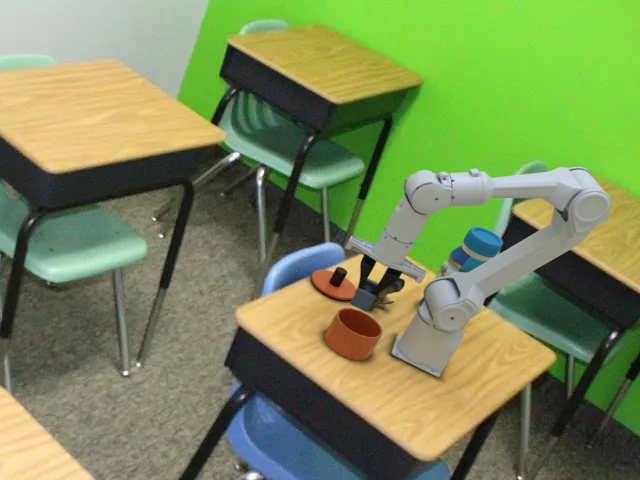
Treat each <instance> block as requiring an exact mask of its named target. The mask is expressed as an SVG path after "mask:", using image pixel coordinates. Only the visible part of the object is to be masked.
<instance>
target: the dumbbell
mask: <svg viewBox="0 0 640 480" xmlns="http://www.w3.org/2000/svg"><path fill="white" fill-rule="evenodd" d="M378 283H379V282H376V281H375V280H373V279H370V278H369V277H368V278H367V280H366V282H365V284H364V286H363V288H362V289H361V288H358V287H356V292H355V295H354V296H353V298H352V299H350V302H349V305H350V306H353V307H355V308H357V309H358V310H360V311H362V312H364V313H368V311H369V310H370V309H369V308H370V306H371V304H372V303H373V301H374V299H375V297H376V296H375V295H373V294H372V292H373V290H374V289H375V288H376V286H377V285H378ZM368 309H369V310H368Z"/></svg>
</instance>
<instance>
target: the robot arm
mask: <svg viewBox="0 0 640 480" xmlns="http://www.w3.org/2000/svg"><path fill="white" fill-rule="evenodd" d="M402 186H403V187H402V188H403V195H401V196H402V197H401V198H400V200H399V201H398V203H397V205H396V207H395V208H394V210H393V212H392V214H391V216H390V218H389V219H388V221H387V223H386V224H385V226H384V228H383V230H382V232H381V234H380V235H379V236H378V239H377V241H376V242H375V243H374V242H371V241H368V240H364V239H361V238H358V237H356V236H353V235H351V236H350V237H349V239H348V241H347V242H346V245H345V246H344V249H346V250H348V251H354V252H356V253H358V254H360V255H362V258H361V260H360V264H359V265H360V266H359V268H360V270H359V271H360V272H359V280H358V284H357V288H361V289H362V288H363V286H364V284H365V282H366V280H367V278H368V279H369V277H370V275H371V273H372V271H373V270H374V267H375V266H376V264H377V263H379V264H380V265H381V266H384V267H387V268H386V270H385V272H384V273H383V275H382V277H381V278H380V280H379V281H378V282H377V283H378V285H377V286H376V288H375V289H374V290H373V292H372V294H373V295H375V296H377V295H378V294H379V293H380V292H382V291H383V290H384V289H385V288H387V287H388V286H390V285H391V284H393V283H395V282H396V281H398V280H399V278H401V276H402V275H404V276H406V277H408V278H410V279H413V280H414V282H415V283H416V284H419V285H422V283H423V281H424V280H425V277H426V276H427V273H428V271H427V270H425V269H424V268H422V267H420V266H418V265H417V264H415V263H414V262H413V261H411V260H409V259H408V258H407V257H408V256H409V253H410V252H411V250H412V248H413V246H414V245H415V243H416V242H417V240H418V238H419V236H420V235H421V233H422V232H423V229H424V227H425V226H426V224H428V221H429V219H430V218H431V215H434V214H437V213H438V212H440V211H441V210H443V209H446V208H451V207H452V208H453V207H473V206H484V205H485V204H487V203H488V202H489V201H490V200H492V199H542V200H543V201H545V202H547V203H549V204H550V205H551V206H552V207H554V208H553V213H552V217H551V222H550V223H549V224H548V225H546V226H544V227H542V228H541V229H539V230H537V231H536V232H533V233H532V234H530V235H529V236H527V237H526V238H524V239H522V240H521V241H519V242H517V243H515V244H514V245H512V246H511V247H509V248H507V249H506V250H504V251H502V252H501V253H499V254H497V255H496V256H495V257H494V258H491V259H490V260H489V261H487V262H485V263H484V264H482V265H480V266H478V267H477V268H475V269H473V270H472V271H470V272H468V273H465V272H454V273H452V274H450V275H448V276H445V277H440V278H436V279H435V278H433V279H431V280H430V281H429V282H428V283H427V284H426V285H425V287H424V288H423V292H422V293H423V294H422V296H424V298H425V300H424V302H423V303H422V305H421V307H420V308H419V307H418V309H417V311H416V312H415V314H414V316H413V318H412V319H411V321H410V322H409V324H408V325H407V327H406V329H405V331H404V332H403V334H397V335H396V338H395V341H394V343H393V347H392V350H391V355H392V356H394V357H396V358H397V359H400V360H402V361H404V362H406V363H408V364H409V365H412V366H414V367H416V368H418V369H420V370H422V371H424V372H426V373H428V374H430V375H432V376H434V377H436V378H440V376H441V374H442V372H443V370H444V369H445V367H446V366H447V365H448V364H449V362H450V360H451V359H452V357H453V356H454V355H455V353H456V351H457V350H458V348H459V346H460V345H461V343H462V341H463V339H464V336H465V331H464V330H463V328H464V327H466V325H467V324H468V323H469V322H470V320H471V319H472V318H474V317H476V316H477V315H479V314H480V313H481V311H482V309H483V306H484V302H485V300H486V299H487V298H489V297H490V296H492V295H494V294H496V293H498V292H499V291H501V290H503V289H504V288H506V287H508V286H510V285H511V284H513V283H514V282H517V281H518V280H520V279H521V278H523V277H525V276H527V275H529V274H530V273H532V272H534V271H536V270H537V269H539V268H541V267H542V266H544V265H546V264H548V263H549V262H551V261H552V260H555V259H556V258H558V257H560V256H562V255H563V254H565V253H567V252H569V251H570V250H573V249H574V248H576V247H577V246H579V245H580V244H582V243H583V242H584V241H585V240H586V239H587V237H589V235H590V234H591V232H593V231H594V229H595V228H597V227H598V226H599V225H601V224H603V223H605V222H607V221H608V220H609V216H610V212H611V208H612V198H611V197H610V195H609V194H608V193H607V192H606V191H605V190H604V189H603V188H602V187H601V185H600V184H599V183H598V181H597V180H596V179H595V178H594V177H593V174H592V173H591V172H590V170H589V169H587V168H585V167H582V166H571V167H564V166H559V167H556V168H554V169H552V170H550V171H542V172H534V173H533V172H532V173H524V174H522V173H521V174H515V175H514V174H513V175H505V176H496V177H494V176H493V177H492V176H490V175H489V174H488V173H486V172H485V171H480V170H479V169H478V168H470V169H469V171H464V172H463V171H462V172H447V171H439V173H436V172H433V171H432V170H428V169H422V170H417V171H416V172H414V173H412V174H411V175H410V176H408V177H406V178H404V181H403V184H402Z"/></svg>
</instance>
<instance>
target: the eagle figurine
mask: <svg viewBox="0 0 640 480" xmlns="http://www.w3.org/2000/svg"><path fill="white" fill-rule="evenodd" d="M405 284H406V281H405V279H403V278H401V277H400V278H399V280H398V281H396V282H395V283H393V284H391V285H390V286H388V287H387V288H385V289H384V290H383V291H382V292H380V293H379V294H378V295H377V296H376V297H375V299H374V301H373V303H372V304H371V306H370V308H369V309H368V311H369V310H371V309H374V308H376V307H377V306H381V307H382V308H383V310H384V311H385V310H386V307H387V305H392V304H394V303H395V301H394V300H392V301H386V299H387V295H392V294H394V293H400V292H401V291H402V290H403V289H404V287H405Z"/></svg>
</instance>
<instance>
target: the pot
mask: <svg viewBox="0 0 640 480" xmlns="http://www.w3.org/2000/svg"><path fill="white" fill-rule="evenodd" d="M383 332H384V331H383V328H382V326H381V324H380V323H379V322H378V321H377V320H376V319H374V318H373V317H372V316H371V315H370V314H368V313H367V312H365V311H362V310H360V309H356V308H352V307H343V308H341V309H338V311H337V312H336V314H335V316H334V318H333V319H332V321H331V323H330V324H329V327H328V328H327V330H326V332H325V334H324V340H325V343H326V344H327V345H328V347H329V348H330V349H332V350H333V351H334V352H335V353H337V354H338V355H340V356H341V357H343V358H346V359H349V360H352V361H364V360H367V359H368V358H369V357H370V355H371V354H372V352H373V350H374V349H375V347H376V346H377V344H378V342H379V340H381V338H382V336H383Z"/></svg>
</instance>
